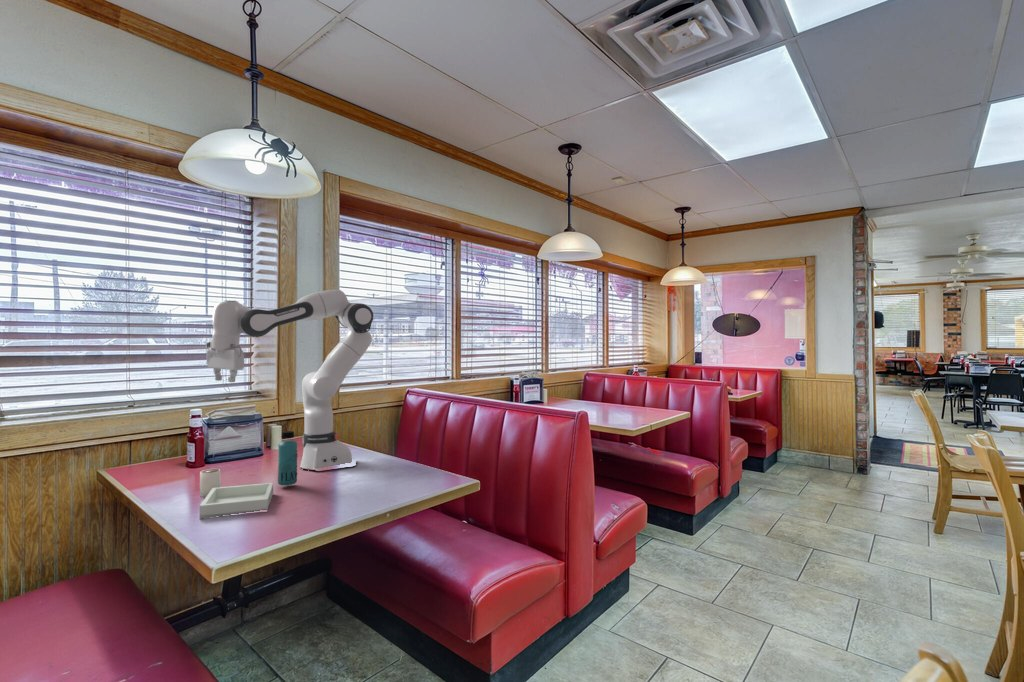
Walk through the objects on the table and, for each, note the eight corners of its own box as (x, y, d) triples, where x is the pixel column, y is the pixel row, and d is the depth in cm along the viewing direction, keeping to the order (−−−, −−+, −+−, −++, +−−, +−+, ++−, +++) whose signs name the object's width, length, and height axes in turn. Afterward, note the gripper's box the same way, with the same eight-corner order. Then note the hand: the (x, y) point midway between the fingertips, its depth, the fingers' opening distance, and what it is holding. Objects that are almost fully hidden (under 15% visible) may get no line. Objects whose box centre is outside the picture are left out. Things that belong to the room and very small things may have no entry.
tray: (273, 494, 167) (273, 482, 167) (267, 512, 150) (267, 499, 150) (212, 500, 161) (212, 487, 161) (199, 519, 144) (199, 505, 144)
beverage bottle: (277, 491, 171) (278, 433, 170) (277, 485, 177) (277, 430, 176) (298, 488, 174) (298, 432, 173) (296, 483, 180) (297, 429, 179)
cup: (222, 490, 170) (222, 467, 170) (218, 496, 165) (218, 472, 165) (202, 492, 168) (202, 469, 168) (197, 498, 163) (197, 473, 163)
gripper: (249, 344, 178) (248, 382, 178) (220, 343, 190) (220, 379, 190) (231, 344, 173) (231, 383, 173) (203, 343, 184) (202, 380, 184)
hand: (225, 381), depth 181 cm, fingers open, 8 cm apart
